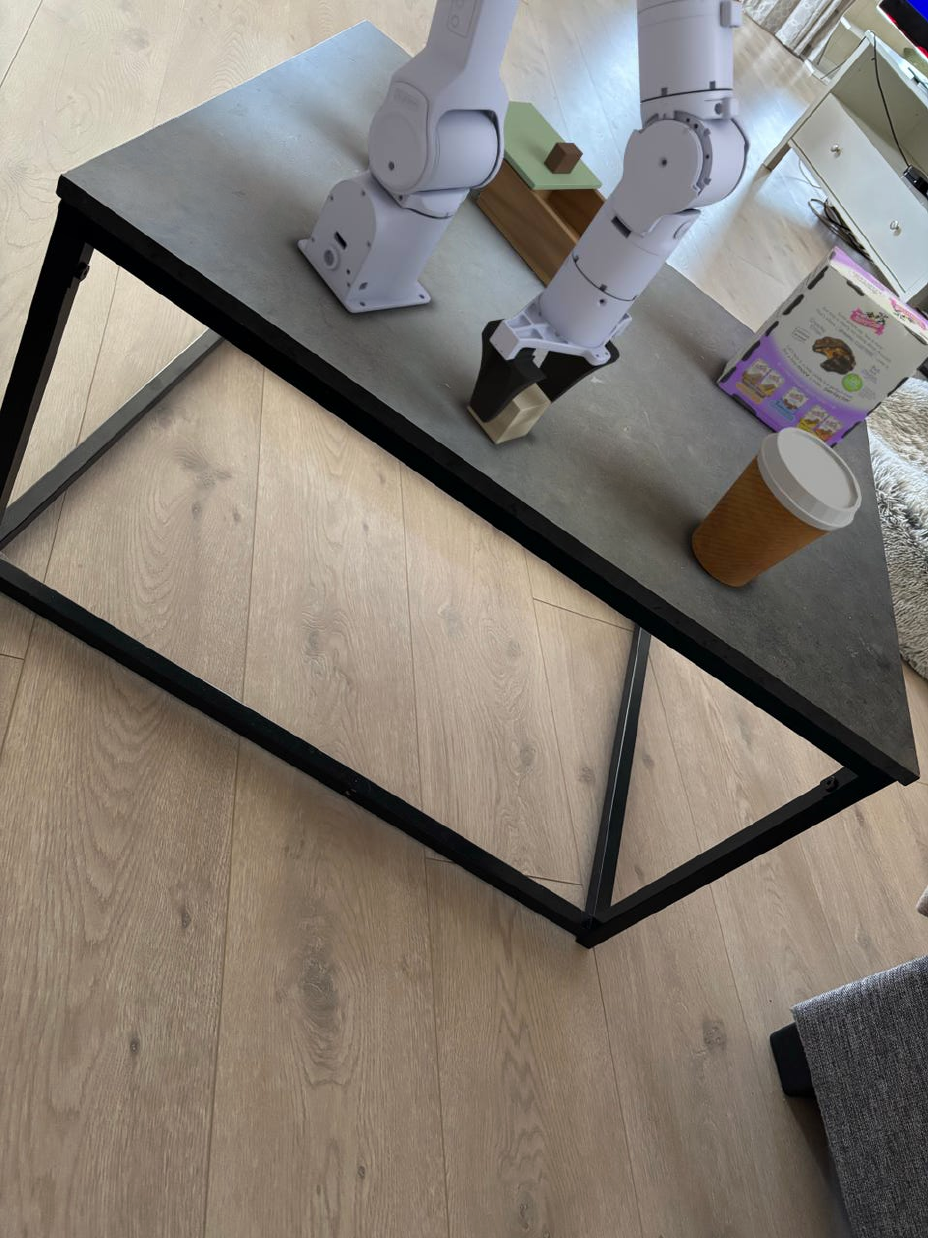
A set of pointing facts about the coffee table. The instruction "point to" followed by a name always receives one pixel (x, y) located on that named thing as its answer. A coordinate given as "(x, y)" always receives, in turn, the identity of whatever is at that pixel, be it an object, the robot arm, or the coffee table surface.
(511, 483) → the coffee table surface
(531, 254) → the oak box
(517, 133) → the sliding lid
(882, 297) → the candy box
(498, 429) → the block
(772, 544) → the disposable coffee cup
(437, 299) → the coffee table surface
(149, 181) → the coffee table surface
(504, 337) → the robot arm
